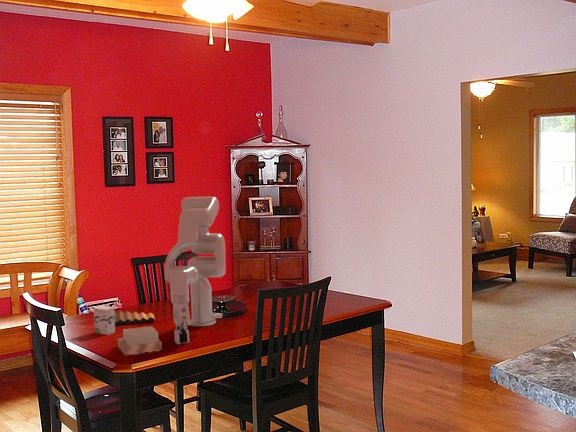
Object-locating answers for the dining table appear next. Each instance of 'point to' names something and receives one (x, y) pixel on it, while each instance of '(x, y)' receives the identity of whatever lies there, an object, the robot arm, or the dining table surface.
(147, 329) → the tower top
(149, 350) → the tower base
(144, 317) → the pan flute
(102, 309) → the ink box
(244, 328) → the dining table surface
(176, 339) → the cube
